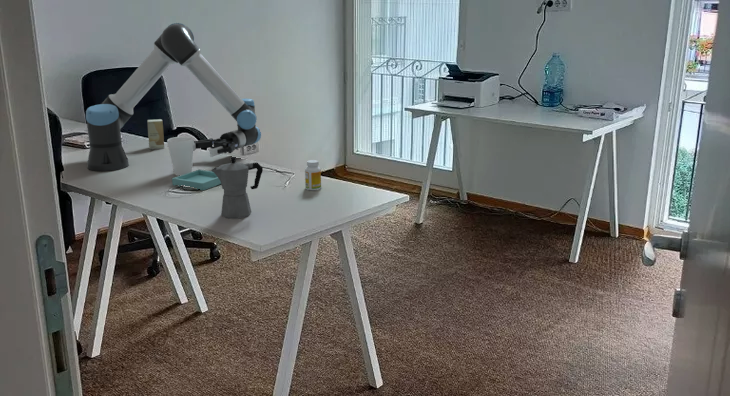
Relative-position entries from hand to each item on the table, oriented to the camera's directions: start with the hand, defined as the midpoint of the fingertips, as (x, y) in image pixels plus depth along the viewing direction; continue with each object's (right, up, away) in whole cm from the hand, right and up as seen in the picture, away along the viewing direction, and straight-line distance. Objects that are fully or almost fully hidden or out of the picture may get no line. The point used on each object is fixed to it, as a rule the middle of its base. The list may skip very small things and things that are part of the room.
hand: (196, 151), depth 260 cm
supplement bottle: (+46, -15, -24) cm, 54 cm away
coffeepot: (+26, -23, -50) cm, 61 cm away
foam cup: (-4, -9, -4) cm, 11 cm away
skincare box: (-26, +4, +37) cm, 45 cm away
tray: (+6, -12, -17) cm, 22 cm away
